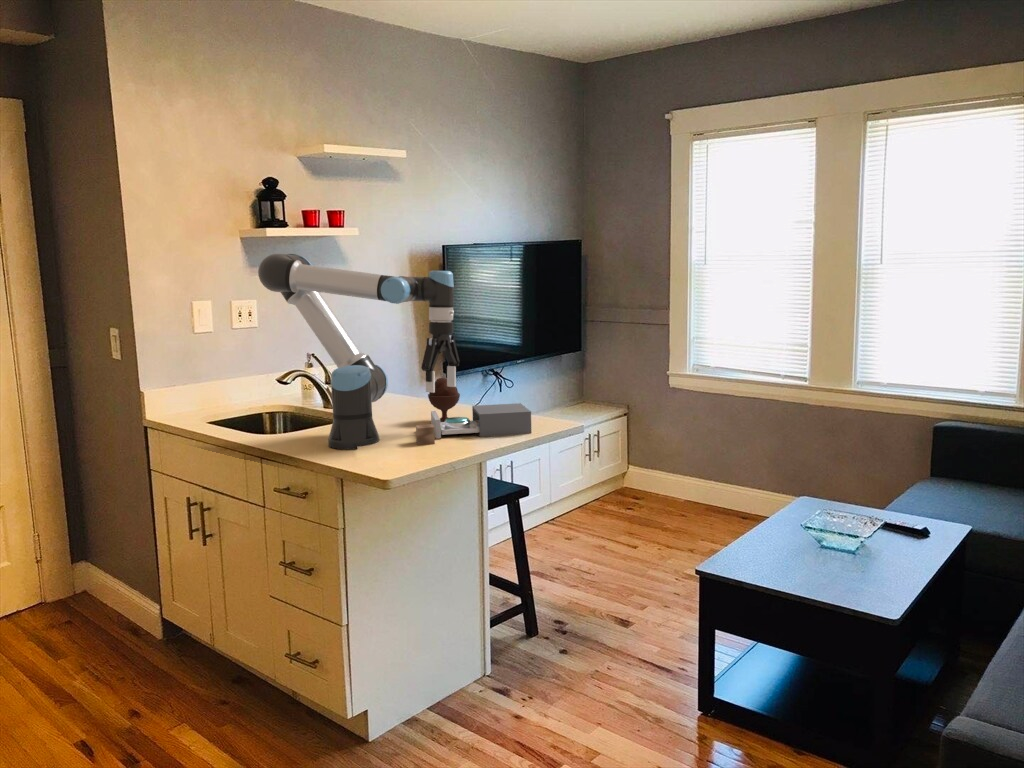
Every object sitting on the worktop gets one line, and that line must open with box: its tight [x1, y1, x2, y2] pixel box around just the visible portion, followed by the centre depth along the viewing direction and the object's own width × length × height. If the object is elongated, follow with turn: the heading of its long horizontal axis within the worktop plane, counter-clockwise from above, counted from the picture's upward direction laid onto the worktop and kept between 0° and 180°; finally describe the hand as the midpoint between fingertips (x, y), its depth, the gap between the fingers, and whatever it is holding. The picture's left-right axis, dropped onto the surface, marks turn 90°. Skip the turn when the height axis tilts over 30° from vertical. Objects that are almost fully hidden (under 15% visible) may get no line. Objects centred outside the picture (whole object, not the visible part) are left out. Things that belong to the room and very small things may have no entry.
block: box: [415, 423, 436, 446], centre depth 246 cm, size 5×5×5 cm
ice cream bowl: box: [427, 377, 461, 422], centre depth 279 cm, size 11×11×15 cm
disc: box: [444, 416, 471, 430], centre depth 260 cm, size 8×8×3 cm
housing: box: [471, 402, 532, 438], centre depth 262 cm, size 16×17×7 cm
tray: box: [430, 410, 480, 440], centre depth 260 cm, size 16×17×6 cm
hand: (441, 389), depth 258 cm, fingers open, 13 cm apart
